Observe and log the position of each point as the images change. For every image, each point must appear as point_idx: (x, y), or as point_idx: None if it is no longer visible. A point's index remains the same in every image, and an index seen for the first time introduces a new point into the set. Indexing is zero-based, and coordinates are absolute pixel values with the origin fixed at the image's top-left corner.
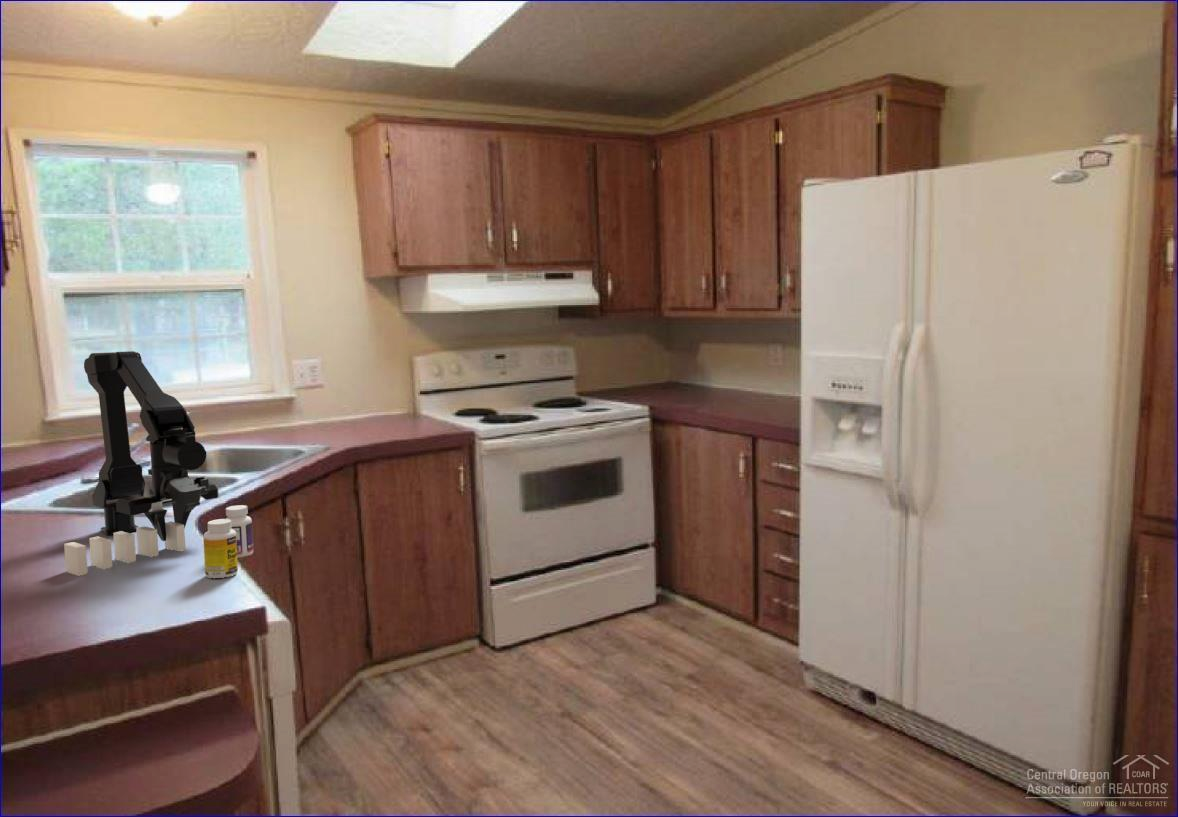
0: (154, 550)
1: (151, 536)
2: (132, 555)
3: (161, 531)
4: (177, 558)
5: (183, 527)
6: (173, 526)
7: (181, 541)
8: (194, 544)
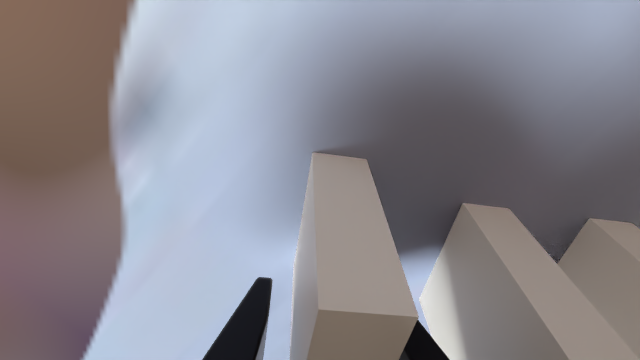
0: (502, 230)
1: (586, 319)
2: (638, 246)
3: (444, 355)
4: (505, 27)
5: (325, 282)
6: (396, 347)
7: (345, 193)
8: (193, 204)
